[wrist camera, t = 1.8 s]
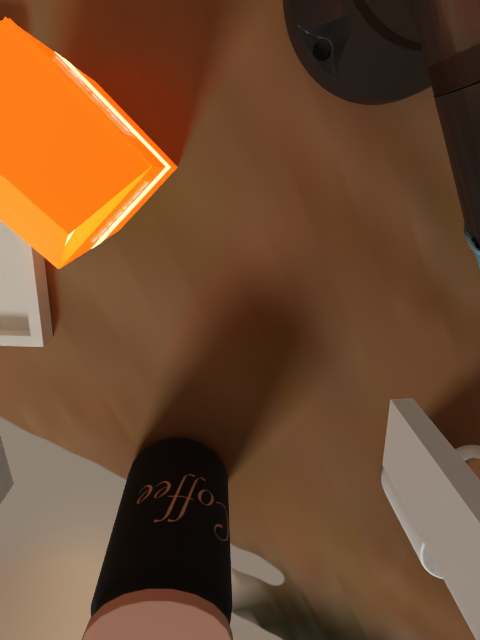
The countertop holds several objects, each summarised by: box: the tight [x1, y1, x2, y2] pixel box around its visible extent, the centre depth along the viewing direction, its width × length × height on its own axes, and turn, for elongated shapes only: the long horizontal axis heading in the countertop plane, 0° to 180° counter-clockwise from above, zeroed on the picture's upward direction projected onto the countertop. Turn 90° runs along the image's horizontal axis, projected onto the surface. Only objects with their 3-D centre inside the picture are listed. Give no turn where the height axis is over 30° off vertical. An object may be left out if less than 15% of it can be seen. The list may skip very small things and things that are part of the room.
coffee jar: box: [82, 438, 233, 640], centre depth 37 cm, size 11×11×18 cm
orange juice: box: [0, 17, 177, 268], centre depth 24 cm, size 8×9×20 cm
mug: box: [381, 445, 480, 579], centre depth 42 cm, size 12×8×10 cm
